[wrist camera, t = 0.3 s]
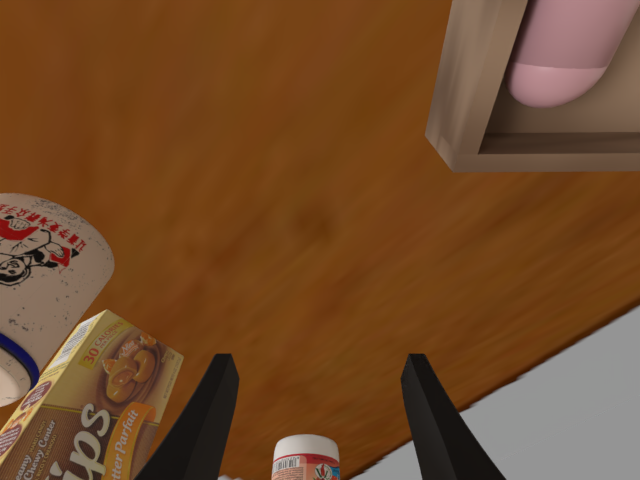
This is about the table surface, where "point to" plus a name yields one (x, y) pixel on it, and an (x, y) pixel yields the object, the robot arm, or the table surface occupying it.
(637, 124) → the brown wooden open box
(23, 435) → the candy box
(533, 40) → the pink tapered cylinder
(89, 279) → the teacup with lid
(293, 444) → the fruit juice
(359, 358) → the table surface
